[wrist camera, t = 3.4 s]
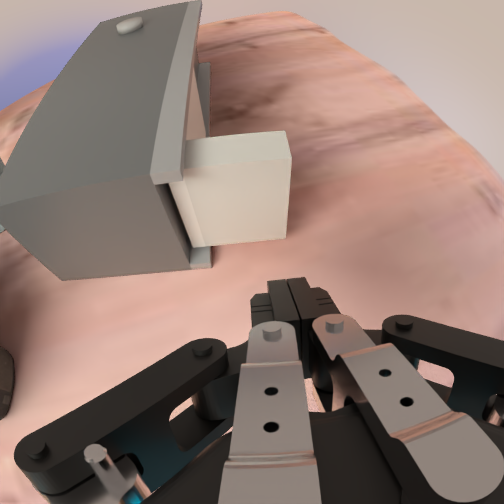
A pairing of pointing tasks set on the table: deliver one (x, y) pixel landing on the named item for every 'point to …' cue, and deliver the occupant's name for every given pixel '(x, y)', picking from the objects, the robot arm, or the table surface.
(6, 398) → the camera
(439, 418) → the robot arm
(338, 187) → the table surface
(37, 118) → the grey box
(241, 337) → the table surface
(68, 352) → the table surface
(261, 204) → the side door
